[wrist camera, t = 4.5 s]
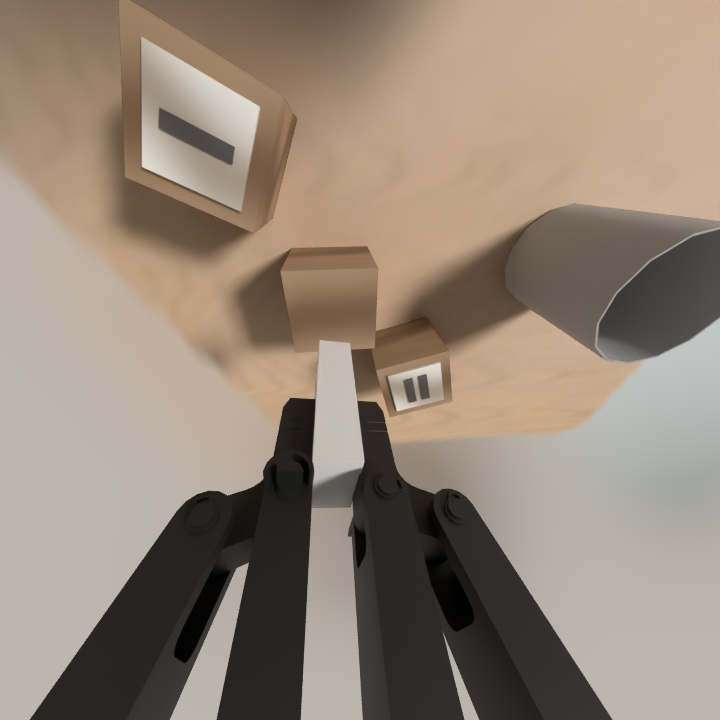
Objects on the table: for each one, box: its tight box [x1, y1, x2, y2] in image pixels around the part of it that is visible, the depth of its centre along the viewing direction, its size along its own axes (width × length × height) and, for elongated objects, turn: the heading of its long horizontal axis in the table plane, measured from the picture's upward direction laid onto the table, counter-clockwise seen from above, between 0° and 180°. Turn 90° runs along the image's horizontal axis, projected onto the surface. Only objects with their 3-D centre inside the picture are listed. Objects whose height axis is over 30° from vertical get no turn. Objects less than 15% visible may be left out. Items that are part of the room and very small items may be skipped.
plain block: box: [280, 246, 378, 352], centre depth 20 cm, size 6×6×6 cm
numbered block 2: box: [371, 317, 452, 417], centre depth 25 cm, size 6×6×6 cm
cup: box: [504, 203, 720, 364], centre depth 19 cm, size 8×8×10 cm
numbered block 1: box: [119, 0, 297, 233], centre depth 14 cm, size 6×6×6 cm
